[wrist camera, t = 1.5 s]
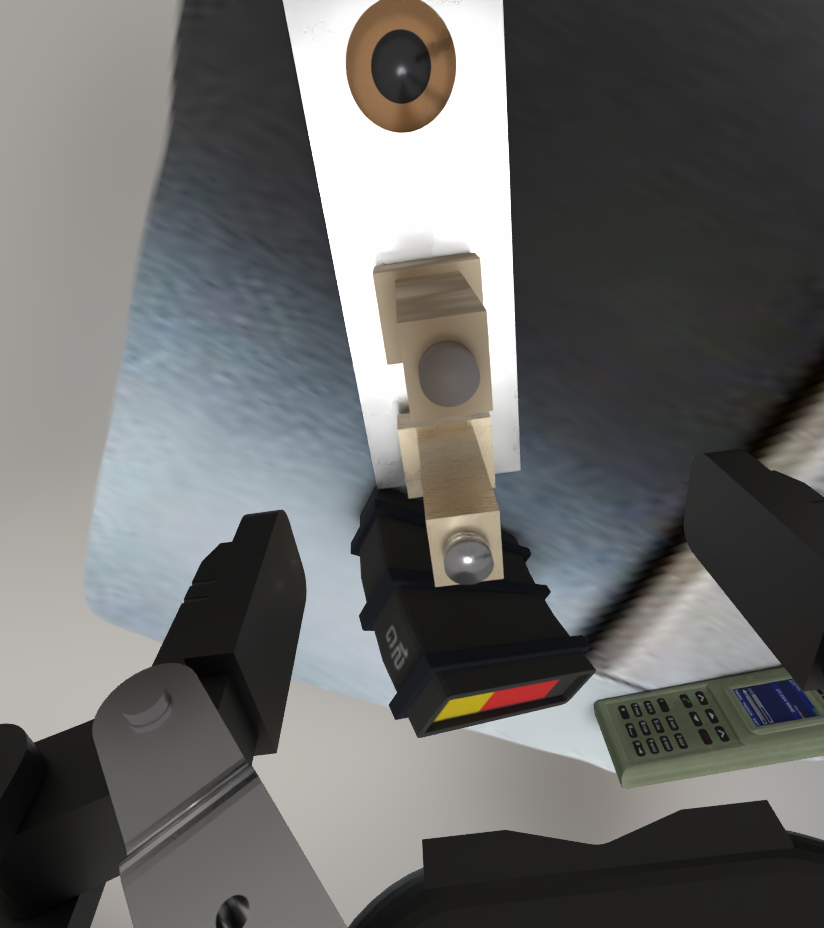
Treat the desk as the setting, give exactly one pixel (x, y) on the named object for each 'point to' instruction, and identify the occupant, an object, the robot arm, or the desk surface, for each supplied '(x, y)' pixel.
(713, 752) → the handheld radio
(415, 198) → the bolt-hole plate
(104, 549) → the desk surface
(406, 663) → the black boxy piece
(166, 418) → the desk surface
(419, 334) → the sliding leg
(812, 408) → the desk surface
